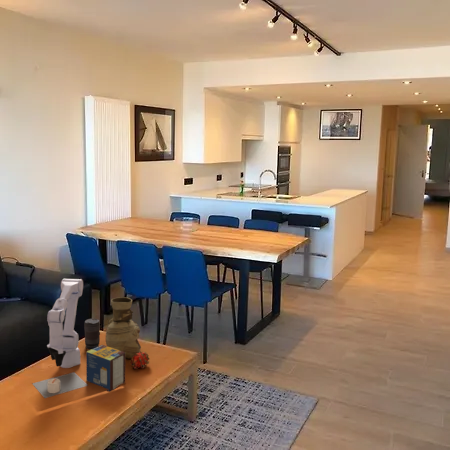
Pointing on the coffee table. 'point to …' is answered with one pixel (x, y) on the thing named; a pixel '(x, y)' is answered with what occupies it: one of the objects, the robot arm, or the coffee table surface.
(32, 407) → the coffee table surface
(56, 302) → the robot arm
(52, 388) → the cap
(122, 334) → the ceramic vessel
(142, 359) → the dragon fruit
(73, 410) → the coffee table surface
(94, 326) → the camera lens
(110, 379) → the protein box
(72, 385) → the base
